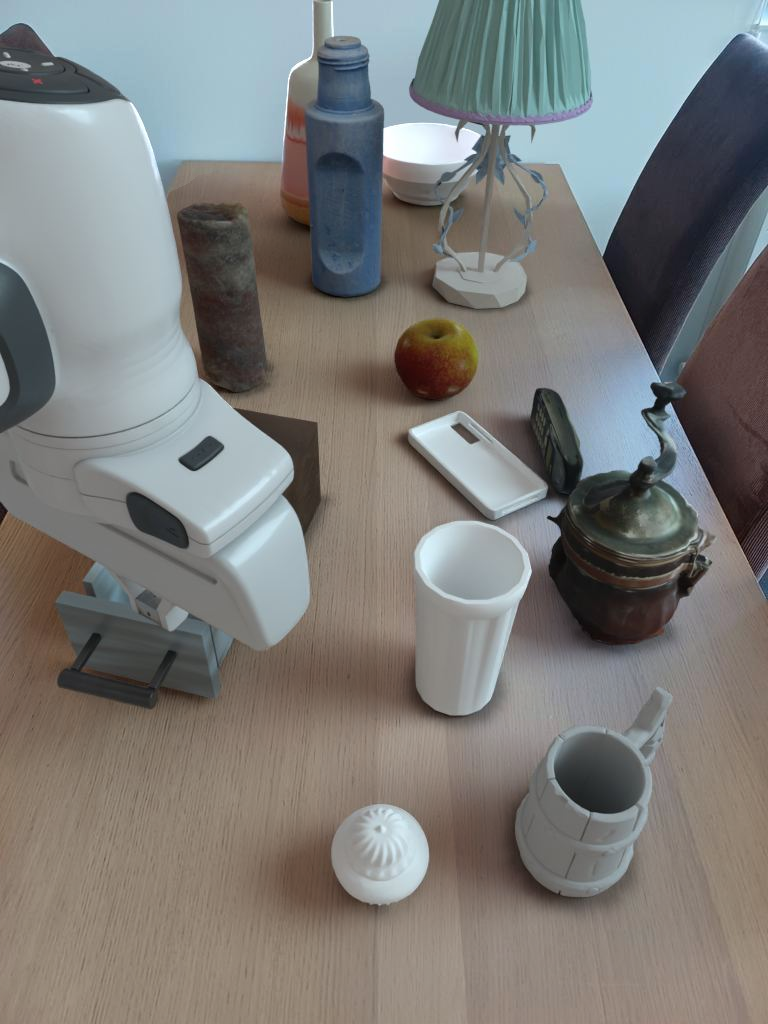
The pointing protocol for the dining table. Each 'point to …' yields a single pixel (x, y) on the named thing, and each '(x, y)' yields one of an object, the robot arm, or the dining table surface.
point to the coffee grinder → (630, 543)
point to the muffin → (380, 854)
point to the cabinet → (295, 459)
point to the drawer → (135, 647)
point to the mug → (590, 803)
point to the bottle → (345, 171)
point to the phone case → (478, 466)
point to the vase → (302, 119)
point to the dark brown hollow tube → (224, 293)
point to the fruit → (436, 358)
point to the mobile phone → (557, 440)
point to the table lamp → (499, 114)
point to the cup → (465, 611)
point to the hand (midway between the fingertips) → (161, 614)
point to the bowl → (425, 160)
